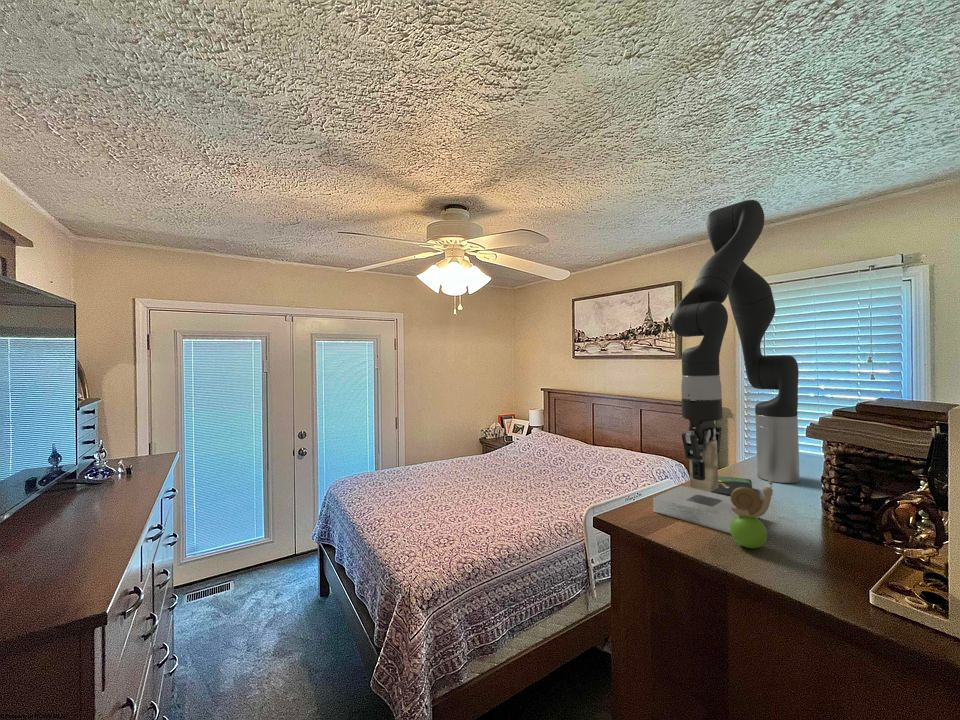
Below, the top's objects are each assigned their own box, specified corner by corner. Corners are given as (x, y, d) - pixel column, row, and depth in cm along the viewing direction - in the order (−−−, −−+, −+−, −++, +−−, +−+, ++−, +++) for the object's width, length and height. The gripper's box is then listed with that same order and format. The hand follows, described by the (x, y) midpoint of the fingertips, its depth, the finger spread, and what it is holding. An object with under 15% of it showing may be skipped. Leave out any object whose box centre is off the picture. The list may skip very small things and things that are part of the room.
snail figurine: (776, 558, 66) (774, 485, 66) (730, 549, 69) (728, 480, 69) (773, 545, 71) (771, 477, 71) (730, 537, 74) (728, 472, 74)
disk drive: (754, 509, 89) (751, 489, 101) (754, 496, 89) (751, 478, 101) (701, 501, 94) (704, 483, 107) (701, 490, 94) (704, 473, 107)
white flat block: (681, 498, 95) (680, 485, 95) (759, 517, 83) (758, 502, 83) (653, 511, 88) (653, 497, 88) (735, 535, 75) (734, 519, 75)
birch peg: (698, 483, 88) (697, 438, 88) (718, 487, 85) (716, 440, 85) (690, 487, 85) (688, 440, 86) (710, 491, 82) (708, 443, 82)
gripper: (697, 393, 93) (700, 467, 93) (667, 398, 84) (669, 480, 84) (734, 395, 87) (736, 474, 87) (705, 400, 78) (707, 488, 78)
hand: (703, 476), depth 85 cm, fingers closed on birch peg, 4 cm apart
